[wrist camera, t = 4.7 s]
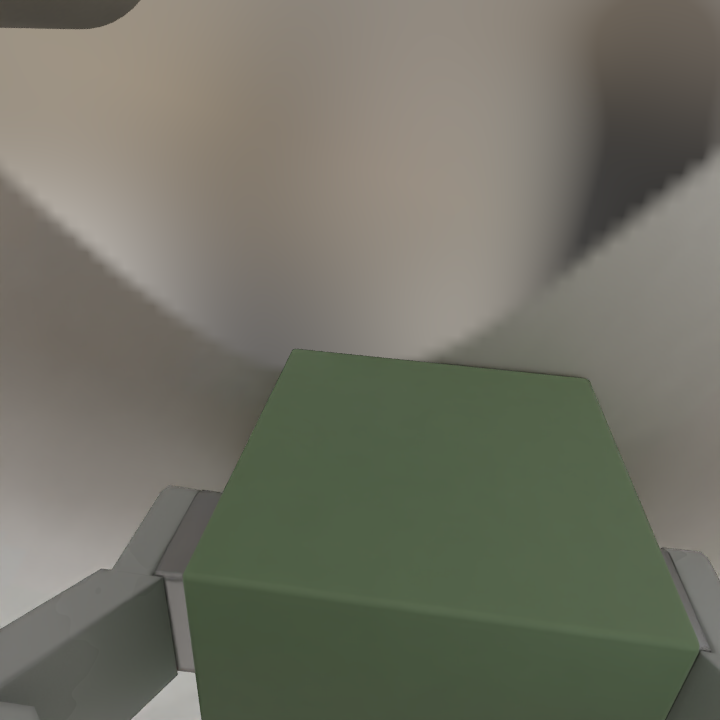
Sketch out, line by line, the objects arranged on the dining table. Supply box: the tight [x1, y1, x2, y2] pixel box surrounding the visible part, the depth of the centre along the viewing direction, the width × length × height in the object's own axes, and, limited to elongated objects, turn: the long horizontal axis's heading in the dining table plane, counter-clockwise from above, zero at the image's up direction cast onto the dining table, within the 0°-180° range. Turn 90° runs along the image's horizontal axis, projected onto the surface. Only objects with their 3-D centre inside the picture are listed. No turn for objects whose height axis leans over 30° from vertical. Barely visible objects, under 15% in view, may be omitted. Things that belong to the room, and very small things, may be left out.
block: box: [183, 349, 700, 720], centre depth 8 cm, size 4×4×4 cm
